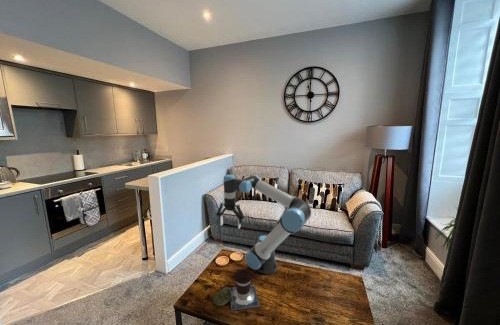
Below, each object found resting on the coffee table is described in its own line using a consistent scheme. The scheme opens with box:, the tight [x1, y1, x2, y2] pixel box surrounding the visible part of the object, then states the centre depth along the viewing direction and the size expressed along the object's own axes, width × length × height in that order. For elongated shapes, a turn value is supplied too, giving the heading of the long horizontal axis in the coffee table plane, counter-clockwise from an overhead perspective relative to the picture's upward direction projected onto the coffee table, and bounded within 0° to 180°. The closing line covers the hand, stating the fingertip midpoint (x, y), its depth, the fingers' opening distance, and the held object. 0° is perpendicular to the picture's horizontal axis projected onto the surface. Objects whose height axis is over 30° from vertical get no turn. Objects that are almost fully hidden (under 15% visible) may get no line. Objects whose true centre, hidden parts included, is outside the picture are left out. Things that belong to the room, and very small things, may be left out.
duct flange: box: [228, 284, 260, 312], centre depth 126 cm, size 16×16×2 cm
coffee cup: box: [234, 268, 253, 300], centre depth 125 cm, size 10×10×15 cm
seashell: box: [212, 286, 231, 307], centre depth 125 cm, size 10×7×10 cm
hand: (230, 226), depth 148 cm, fingers open, 13 cm apart
